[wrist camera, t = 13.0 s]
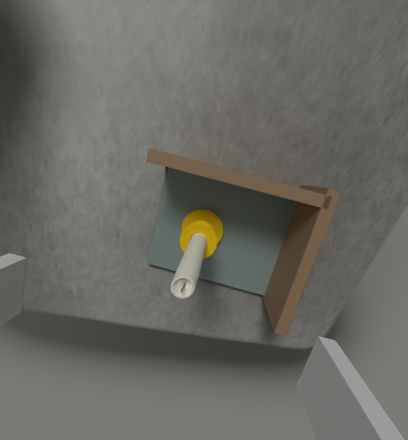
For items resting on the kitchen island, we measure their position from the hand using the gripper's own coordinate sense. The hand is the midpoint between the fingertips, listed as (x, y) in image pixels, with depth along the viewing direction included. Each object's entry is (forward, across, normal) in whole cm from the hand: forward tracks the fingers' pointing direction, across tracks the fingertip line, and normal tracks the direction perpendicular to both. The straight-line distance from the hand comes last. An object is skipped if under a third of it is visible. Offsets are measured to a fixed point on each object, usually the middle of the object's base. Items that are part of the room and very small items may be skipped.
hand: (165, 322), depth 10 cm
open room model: (+19, +3, 0) cm, 19 cm away
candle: (+19, 0, 0) cm, 19 cm away
